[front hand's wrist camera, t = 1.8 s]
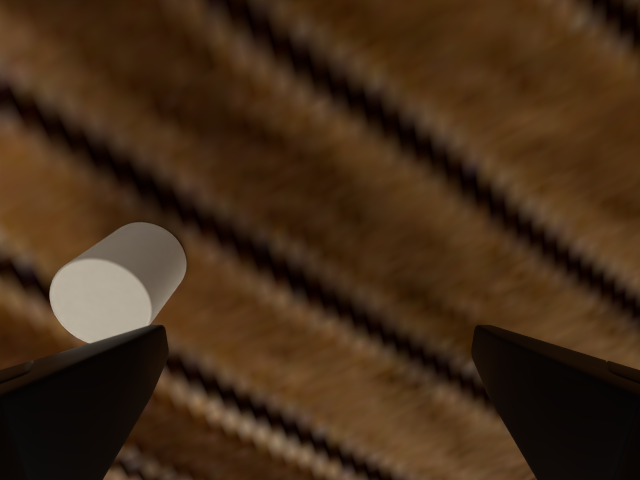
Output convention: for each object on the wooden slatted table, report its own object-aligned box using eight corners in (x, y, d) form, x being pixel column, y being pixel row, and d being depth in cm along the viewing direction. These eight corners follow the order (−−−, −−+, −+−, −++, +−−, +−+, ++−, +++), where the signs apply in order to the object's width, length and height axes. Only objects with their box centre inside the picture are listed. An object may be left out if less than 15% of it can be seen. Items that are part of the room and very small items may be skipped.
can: (138, 306, 21) (92, 361, 17) (90, 244, 20) (26, 286, 16) (202, 274, 21) (171, 323, 16) (156, 207, 19) (108, 240, 15)
